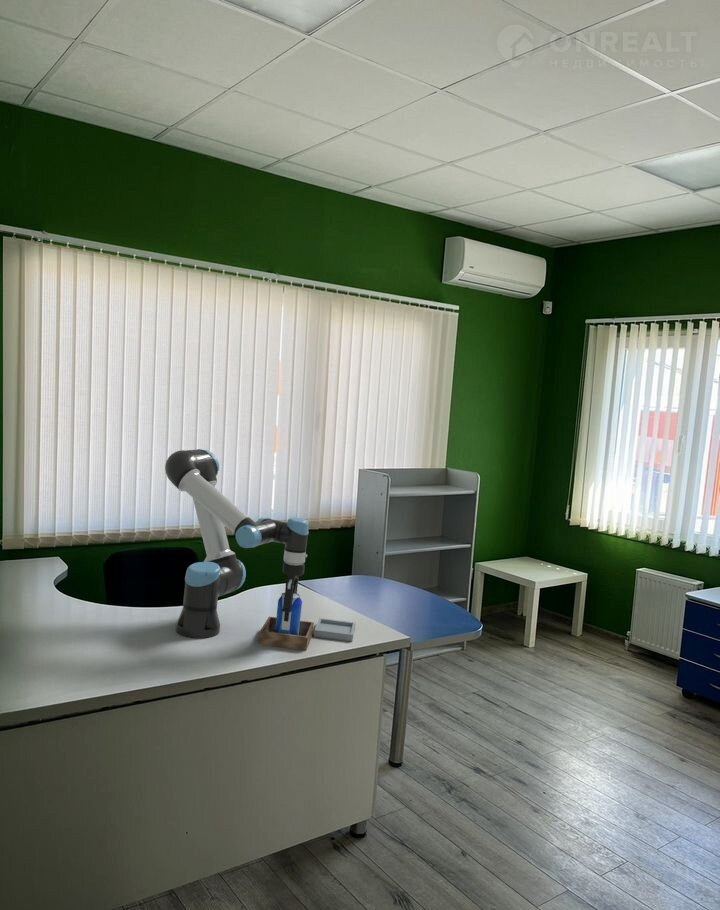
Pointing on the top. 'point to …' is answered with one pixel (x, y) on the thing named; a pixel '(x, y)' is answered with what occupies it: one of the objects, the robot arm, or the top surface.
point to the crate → (286, 635)
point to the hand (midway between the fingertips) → (287, 625)
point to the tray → (335, 629)
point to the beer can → (294, 615)
